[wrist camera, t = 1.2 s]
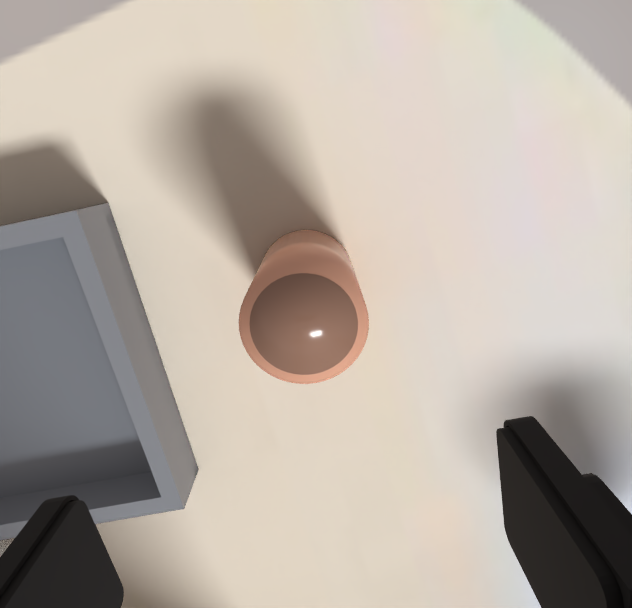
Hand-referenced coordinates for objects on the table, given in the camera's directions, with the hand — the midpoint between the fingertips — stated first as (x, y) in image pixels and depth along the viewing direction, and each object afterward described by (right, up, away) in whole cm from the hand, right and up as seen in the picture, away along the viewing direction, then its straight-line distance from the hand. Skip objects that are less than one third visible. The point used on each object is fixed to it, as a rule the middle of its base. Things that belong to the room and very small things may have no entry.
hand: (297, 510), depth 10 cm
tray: (-21, -1, +22) cm, 30 cm away
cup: (0, +6, +19) cm, 21 cm away
